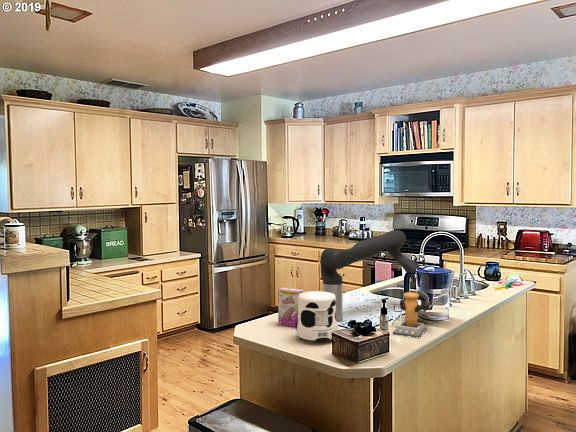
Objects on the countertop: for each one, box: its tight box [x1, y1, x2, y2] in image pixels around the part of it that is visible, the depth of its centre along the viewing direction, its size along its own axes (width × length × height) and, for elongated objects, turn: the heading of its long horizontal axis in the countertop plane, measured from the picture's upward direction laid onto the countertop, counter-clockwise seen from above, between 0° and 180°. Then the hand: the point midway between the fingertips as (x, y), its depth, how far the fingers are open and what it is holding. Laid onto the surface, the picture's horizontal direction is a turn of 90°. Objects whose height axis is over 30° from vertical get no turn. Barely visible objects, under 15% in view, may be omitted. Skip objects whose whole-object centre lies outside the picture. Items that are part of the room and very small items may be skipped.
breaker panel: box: [392, 320, 427, 339], centre depth 201 cm, size 11×12×3 cm
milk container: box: [295, 290, 339, 343], centre depth 193 cm, size 17×17×18 cm
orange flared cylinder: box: [403, 291, 419, 327], centre depth 202 cm, size 6×6×14 cm
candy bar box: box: [277, 287, 305, 329], centre depth 211 cm, size 11×5×16 cm, turn 59°
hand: (409, 309), depth 199 cm, fingers closed on orange flared cylinder, 5 cm apart
